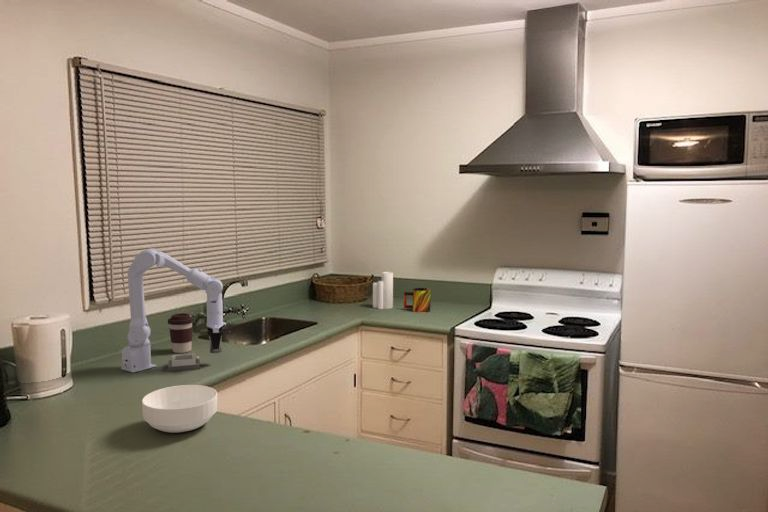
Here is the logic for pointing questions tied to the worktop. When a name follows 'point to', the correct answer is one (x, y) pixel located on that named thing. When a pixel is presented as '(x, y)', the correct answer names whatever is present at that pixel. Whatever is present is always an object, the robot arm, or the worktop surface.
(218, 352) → the lens
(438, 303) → the worktop surface
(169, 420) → the bowl
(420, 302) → the mug
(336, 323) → the worktop surface
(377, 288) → the vase
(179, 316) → the coffee cup
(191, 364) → the camera body
